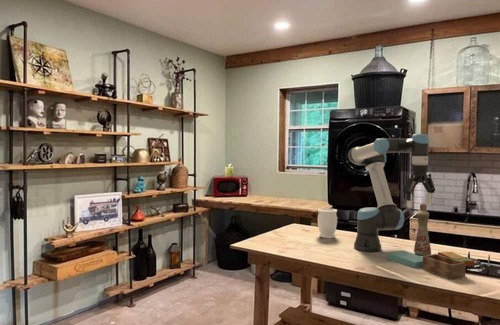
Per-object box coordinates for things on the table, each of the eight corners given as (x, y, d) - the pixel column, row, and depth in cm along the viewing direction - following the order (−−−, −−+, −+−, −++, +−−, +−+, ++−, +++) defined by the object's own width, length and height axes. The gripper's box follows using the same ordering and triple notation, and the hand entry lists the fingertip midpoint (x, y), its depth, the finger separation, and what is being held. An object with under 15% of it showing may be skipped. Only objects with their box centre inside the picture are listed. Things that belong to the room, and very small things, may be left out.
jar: (313, 235, 241) (313, 208, 240) (328, 233, 246) (328, 207, 246) (326, 239, 229) (326, 211, 229) (341, 237, 235) (341, 210, 234)
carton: (451, 259, 191) (452, 251, 190) (474, 269, 175) (475, 260, 174) (437, 259, 189) (437, 251, 189) (459, 270, 173) (459, 261, 173)
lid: (387, 259, 188) (388, 253, 188) (403, 257, 193) (403, 250, 193) (415, 269, 173) (415, 262, 173) (431, 266, 177) (431, 259, 177)
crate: (422, 270, 171) (422, 256, 171) (435, 268, 175) (435, 253, 175) (451, 281, 158) (452, 265, 157) (465, 278, 161) (465, 262, 161)
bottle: (434, 254, 198) (435, 203, 197) (427, 257, 193) (428, 205, 191) (418, 250, 205) (419, 201, 204) (411, 253, 199) (411, 203, 198)
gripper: (408, 165, 174) (407, 208, 175) (443, 164, 185) (442, 205, 185) (395, 164, 181) (395, 206, 182) (430, 163, 191) (429, 203, 192)
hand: (419, 206), depth 184 cm, fingers open, 13 cm apart
